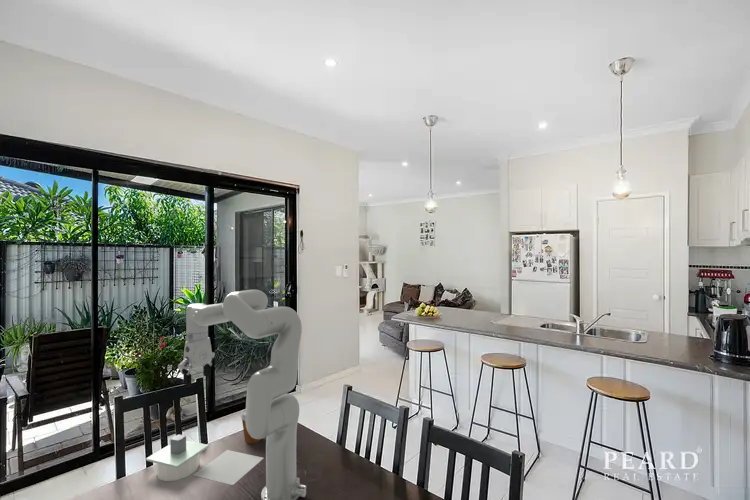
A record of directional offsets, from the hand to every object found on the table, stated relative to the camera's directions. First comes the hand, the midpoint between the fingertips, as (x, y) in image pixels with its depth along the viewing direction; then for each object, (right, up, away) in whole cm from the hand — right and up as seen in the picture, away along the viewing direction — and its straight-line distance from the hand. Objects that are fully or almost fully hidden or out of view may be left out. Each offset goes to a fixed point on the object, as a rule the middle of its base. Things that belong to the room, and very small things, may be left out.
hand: (197, 380), depth 144 cm
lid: (-2, -22, -11) cm, 25 cm away
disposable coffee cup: (+18, -28, +10) cm, 35 cm away
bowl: (-2, -28, -11) cm, 30 cm away
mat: (+16, -28, -9) cm, 34 cm away
